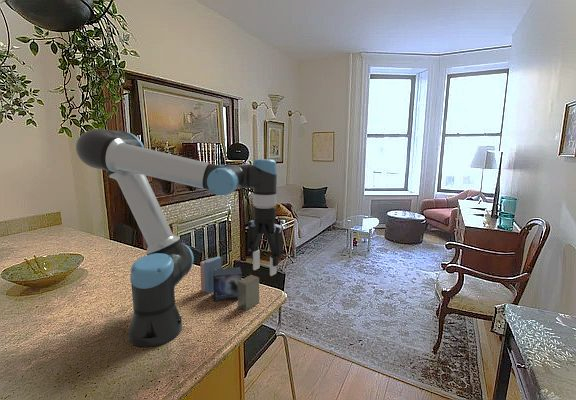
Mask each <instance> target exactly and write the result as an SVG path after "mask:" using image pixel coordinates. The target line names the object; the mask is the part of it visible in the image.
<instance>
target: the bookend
mask: <svg viewBox="0 0 576 400" xmlns="http://www.w3.org/2000/svg"><path fill="white" fill-rule="evenodd" d="M259 303H260V277H258V276H256V275H253V274H250V275H248V276H246V277H244V278H242V279H241V280H239V281H238V299H237V308H239V309H241V310H244V311H245V312H246V311H249V310H250V309H251V308H252V307H255V306H256V305H258V304H259Z"/></svg>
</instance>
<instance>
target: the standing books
mask: <svg viewBox="0 0 576 400" xmlns="http://www.w3.org/2000/svg"><path fill="white" fill-rule="evenodd" d="M222 260H223V259H222V257H221V256H216V257H211V258H208V259H206V260H203V261H201V262H199V264H200V265H199V266H200V269H199V270H200V291H201V292H203V293H205V294H208V295H210V294H212V293H213V292H214V288H213V269H222V268H223V262H222Z"/></svg>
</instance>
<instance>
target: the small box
mask: <svg viewBox="0 0 576 400" xmlns="http://www.w3.org/2000/svg"><path fill="white" fill-rule="evenodd" d="M241 269H242V268H241V267H240V266H237V267H235V266H234V267H226V268H224V267H222V269H213V288H214V292H212V293H213V301H214V302H217V301H227V300H238V281H239V280H241V279H243V278H242V277H243V275H242V274H243V273H242V270H241Z"/></svg>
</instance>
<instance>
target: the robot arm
mask: <svg viewBox="0 0 576 400" xmlns="http://www.w3.org/2000/svg"><path fill="white" fill-rule="evenodd" d="M75 149H76V150H75V151H76V154H77V156H78V158H79V159H80V160H81V162H82V163H83V164H85V165H86V166H87V167H90V168H94V169H98V170H103V171H106V173H107V175H108V178H110V179H113V180H115V181H116V182H117V183H118V184H117V185H118V186H119V188H120V189H121V193H122V194H123V196H124V198H125V200H126V203H127V204H128V206H129V209H130V211H131V213H132V215H133V217H134V220H135V221H136V223H137V226H138V228H139V230H140V232H141V234H142V236H143V238H144V240H145V242H146V245H147V249H146V251H145V253H146V255H144V256H141V257H140V258H137V259H136V260H135V262H133V263H132V265H131V268H130V277H129V279H130V285H131V295H132V306H133V307H132V308H133V314H132V318H131V321H130V325H129V327H128V339H129V342H130V343H131V344H132V345H134V346H136V347H141V348H150V347H152V348H153V347H156V346H161V345H164V344H165V343H168V342H170V341H172V340H174V339H175V338H176V337H177V336H178V335H179V334H180V333H181V332H182V329H183V321H182V317H181V314H180V312H179V310H178V308H177V305H176V298H175V297H176V295H175V292H176V291H175V289H176V288H175V287H176V286H177V285H178V284H179V283H180V282H181V281H182V280H183V278H184V277H185V276H187V275H188V274H189V272H190V271H191V269H192V267H193V264H194V259H195V257H194V253H193V251H192V249H191V248H190V246H188V245H187V244H184V242H182V240H181V238H180V236H177V235H174V233H173V231H172V229H171V228H170V225H169V223H168V221H167V219H166V217H165V214H164V212H163V210H162V207H161V205H160V204H159V201H158V199H157V197H156V195H155V193H154V191H153V188H152V185H150V182H149V180H148V177H151V178H155V179H159V180H164V181H167V182H173V183H177V184H181V185H187V186H190V187H193V188H194V187H195V188H198V189H202V190H207V191H210V192H211V193H212V194H214V195H216V196H219V197H220V196H222V197H223V196H228V195H231V194H232V193H234V192H235V191H236V190H238V189H252V190H253V200H252V201H253V206H254V207H253V220H248V221H247V227H248V229H247V239H246V241H247V242H246V248H247V249H249V250H250V251H251V260H252V270H253V271H257V270H258V269H260V266H261V263H260V261H261V259H260V258H261V254H260V253H261V250H259V249H260V248H259V246H260V243H261V240H262V237H263V234H264V235H265V238H266V239H267V243H268V246H269V250H270V253H271V254H270V255H271V256H269V276H270V277H272V276H274V275H276V274H277V267H278V265H279V257H281V256H284V254H285V253H284V241H283V230H284V226H283V225H278V224H277V222H276V217H277V207H276V206H277V184H278V183H277V179H278V177H277V176H278V173H277V162H276V161H275V160H274V159H272V158H271V159H269V158H267V159H266V158H265V159H264V158H256V159H253V163H252V164H249V165H247V164H229V163H228V164H214V163H210V162H205V161H201V160H197V159H192V158H189V157H184V156H180V155H175V154H171V153H167V152H162V151H159V150H155V149H150V148H146V147H145V146H144V144H143V142H142V141H141V139H140V138H139V137H138V136H136V135H135V134H134V133H131V132H128V131H125V130H111V129H110V130H109V129H103V128H93V129H90V130H87V131H85V132H83V133H82V134H81V135H80V136H79V137H78V139H77V140H76V144H75Z"/></svg>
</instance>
